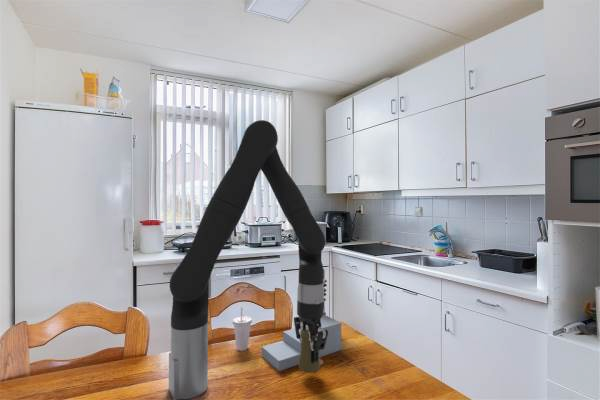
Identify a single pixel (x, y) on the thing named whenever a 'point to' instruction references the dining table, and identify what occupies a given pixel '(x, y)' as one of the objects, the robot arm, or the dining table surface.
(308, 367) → the olive green pepper mill
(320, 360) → the pointer
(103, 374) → the dining table surface
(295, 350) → the step stand
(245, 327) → the smoothie
